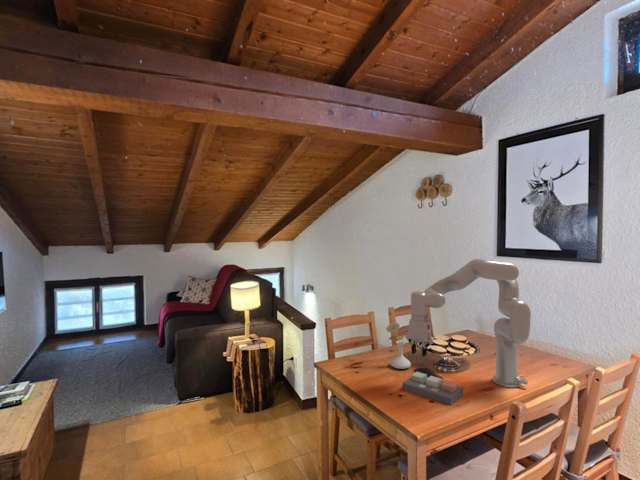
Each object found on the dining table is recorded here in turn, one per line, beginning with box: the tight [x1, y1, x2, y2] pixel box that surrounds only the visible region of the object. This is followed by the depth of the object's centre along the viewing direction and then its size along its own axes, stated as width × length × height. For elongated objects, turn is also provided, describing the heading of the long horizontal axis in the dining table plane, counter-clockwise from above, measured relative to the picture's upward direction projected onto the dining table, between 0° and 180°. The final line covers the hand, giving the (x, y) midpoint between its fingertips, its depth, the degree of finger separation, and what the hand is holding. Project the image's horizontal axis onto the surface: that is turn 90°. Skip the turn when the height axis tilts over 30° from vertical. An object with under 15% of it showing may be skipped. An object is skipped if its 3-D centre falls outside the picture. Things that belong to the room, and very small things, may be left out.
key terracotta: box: [442, 379, 459, 393], centre depth 158 cm, size 5×5×3 cm
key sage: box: [411, 371, 427, 383], centre depth 168 cm, size 5×5×3 cm
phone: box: [414, 367, 444, 381], centre depth 180 cm, size 8×1×15 cm
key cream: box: [426, 376, 443, 388], centre depth 163 cm, size 5×5×3 cm
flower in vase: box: [386, 321, 412, 370], centre depth 191 cm, size 13×11×25 cm
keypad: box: [402, 376, 464, 406], centre depth 161 cm, size 23×14×3 cm, turn 48°
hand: (419, 354), depth 168 cm, fingers open, 4 cm apart
